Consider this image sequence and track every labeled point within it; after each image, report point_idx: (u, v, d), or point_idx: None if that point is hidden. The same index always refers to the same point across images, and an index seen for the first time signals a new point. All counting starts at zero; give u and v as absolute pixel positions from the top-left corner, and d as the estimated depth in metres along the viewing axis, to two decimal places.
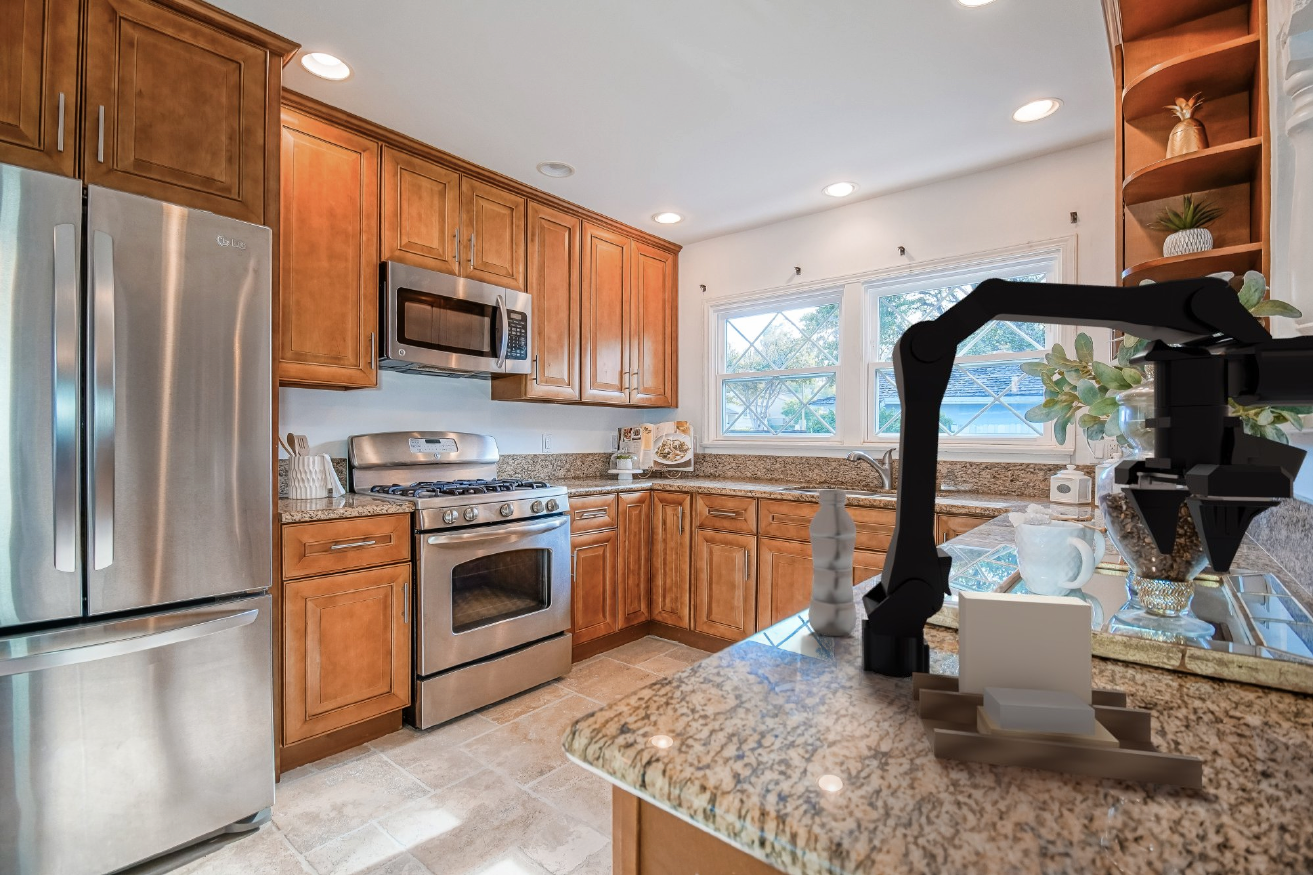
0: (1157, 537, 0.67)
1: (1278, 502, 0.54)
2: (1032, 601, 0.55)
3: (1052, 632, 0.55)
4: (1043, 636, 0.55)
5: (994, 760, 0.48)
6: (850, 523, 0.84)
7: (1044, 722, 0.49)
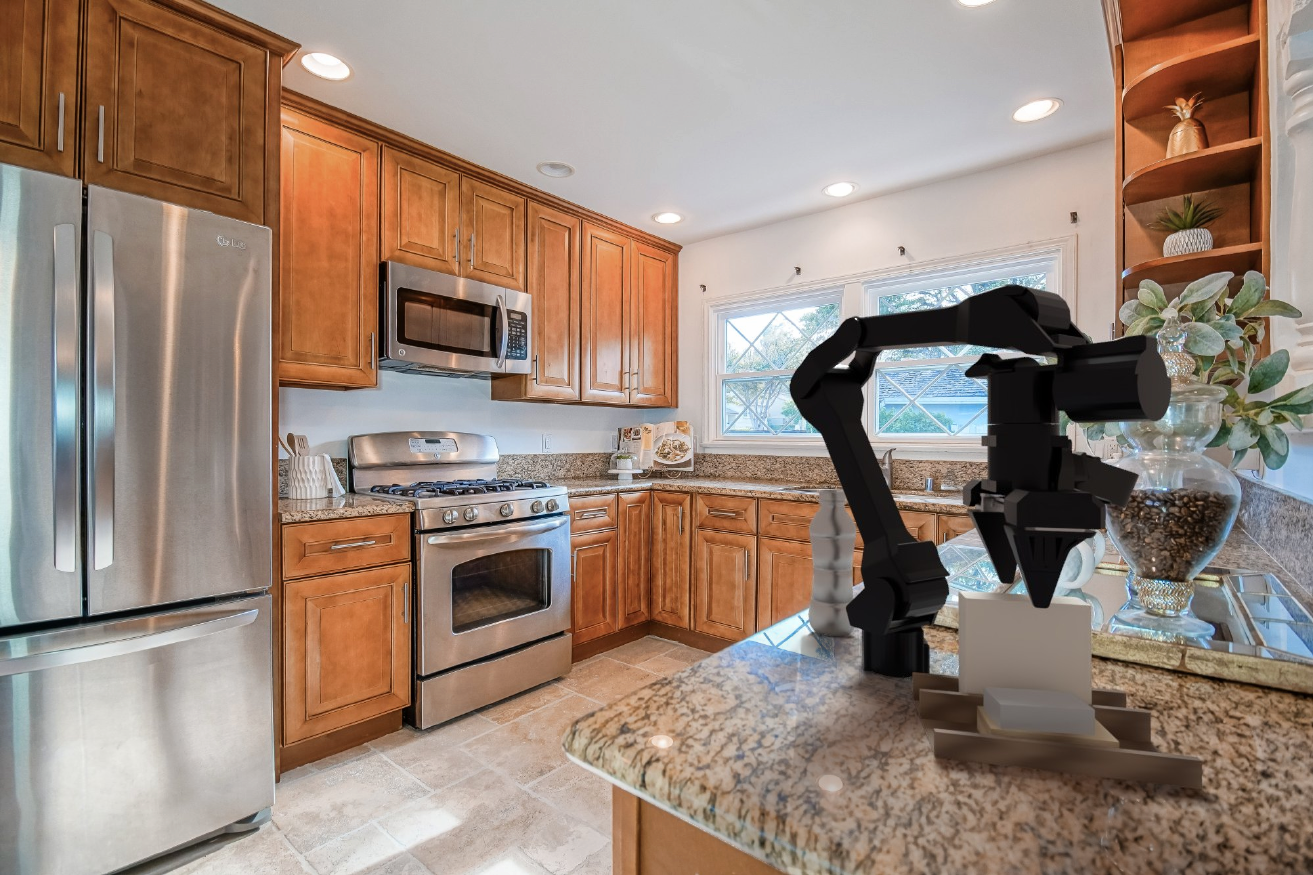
0: (998, 564, 0.61)
1: (1092, 533, 0.48)
2: None
3: (1052, 632, 0.55)
4: (1043, 636, 0.55)
5: (994, 760, 0.48)
6: (850, 523, 0.84)
7: (1044, 722, 0.49)
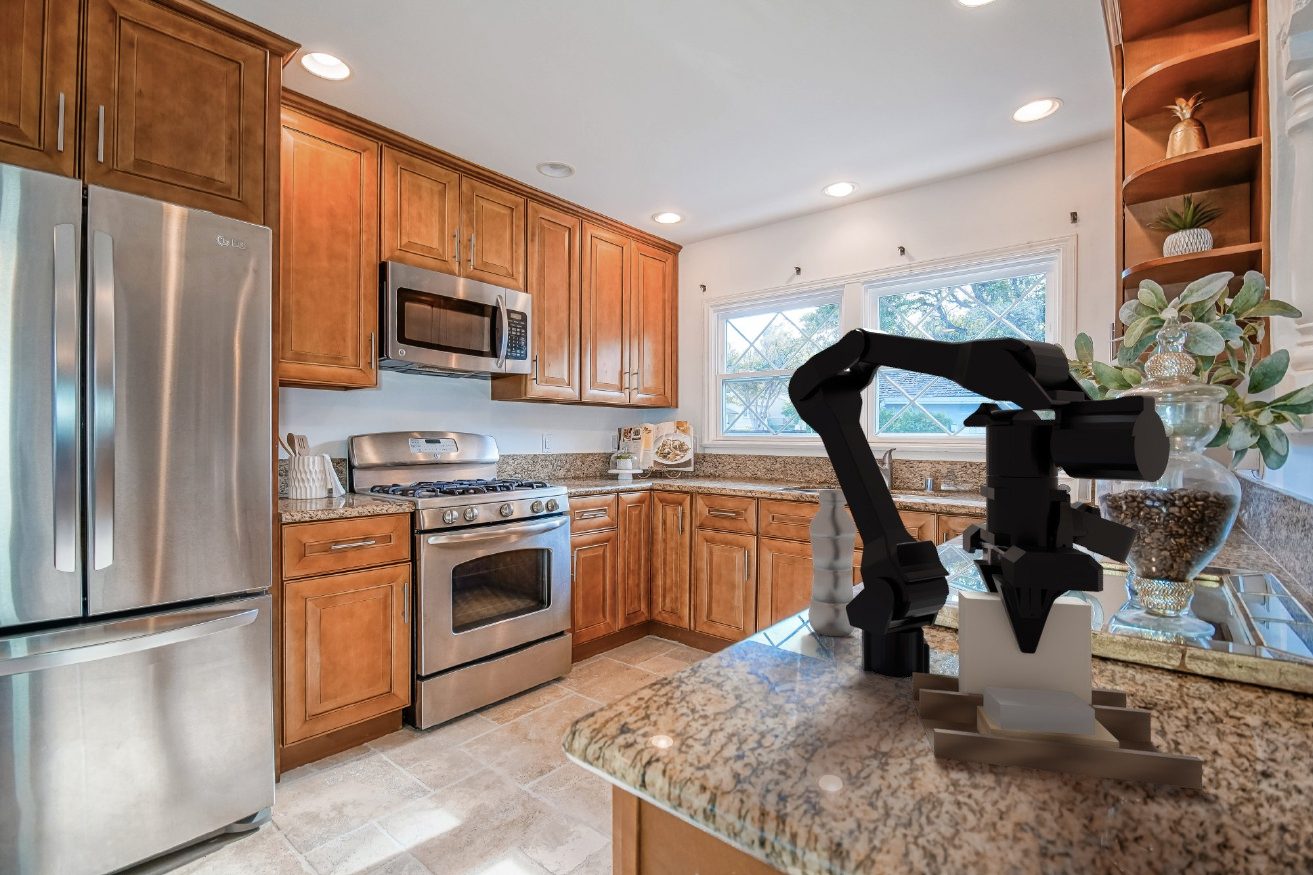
0: None
1: None
2: None
3: (1052, 632, 0.55)
4: (1043, 636, 0.55)
5: (994, 760, 0.48)
6: (850, 523, 0.84)
7: (1044, 722, 0.49)
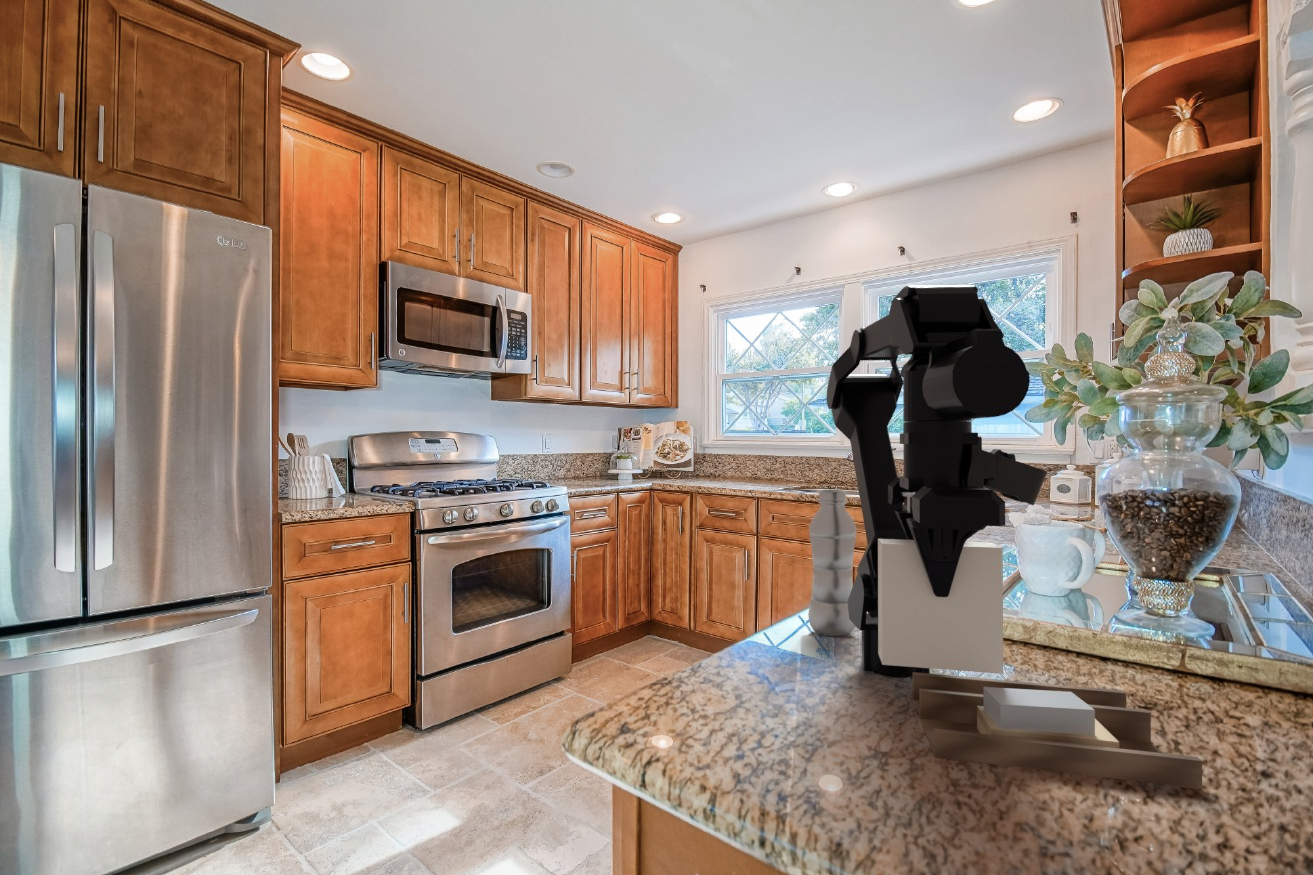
0: None
1: (982, 525, 0.51)
2: None
3: (965, 575, 0.55)
4: (957, 579, 0.55)
5: (994, 760, 0.48)
6: (850, 523, 0.84)
7: (1044, 722, 0.49)
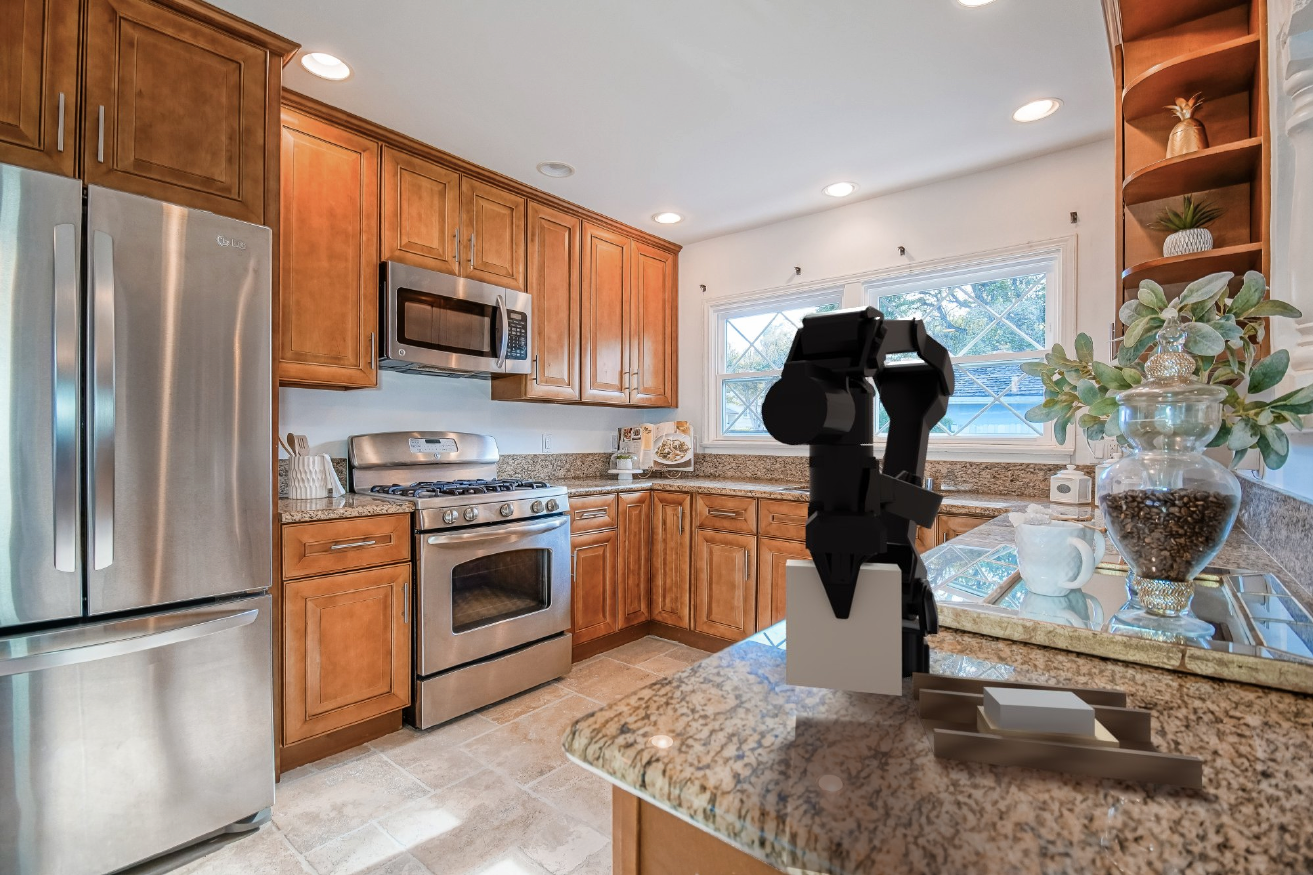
0: None
1: None
2: None
3: (866, 598, 0.55)
4: (857, 601, 0.55)
5: (994, 760, 0.48)
6: None
7: (1044, 722, 0.49)
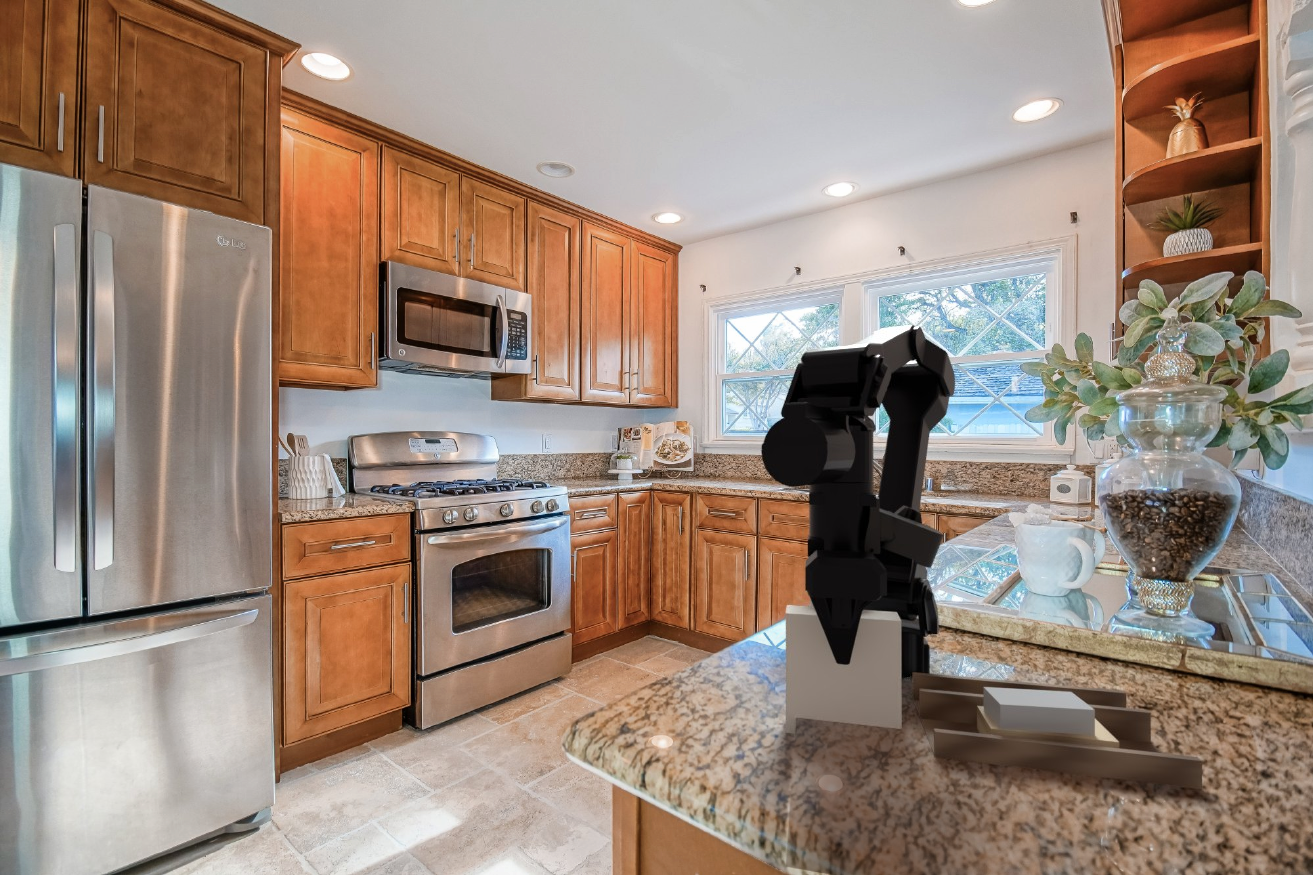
0: None
1: (876, 596, 0.50)
2: None
3: (865, 647, 0.55)
4: (857, 651, 0.55)
5: (994, 760, 0.48)
6: None
7: (1044, 722, 0.49)
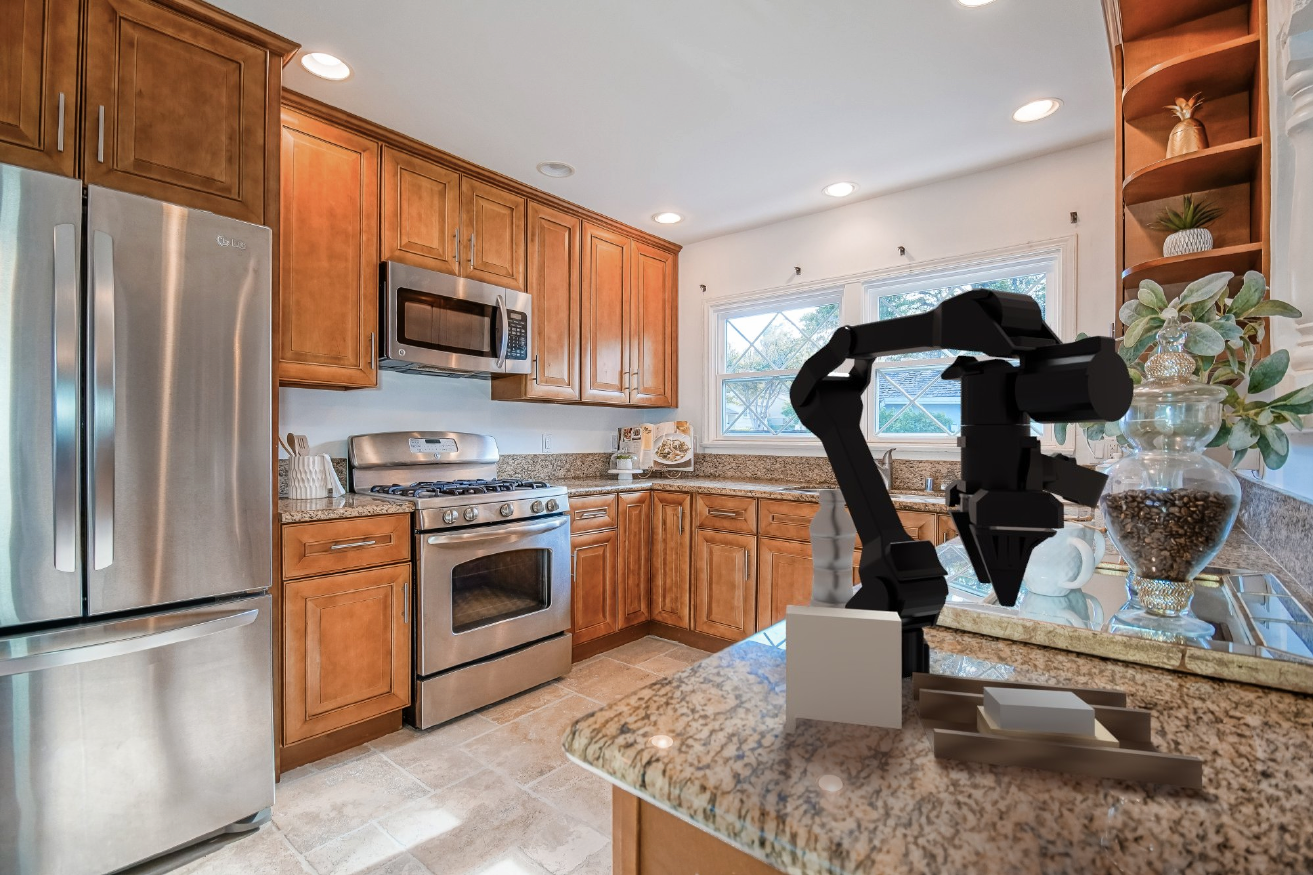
0: (976, 564, 0.62)
1: (1052, 532, 0.49)
2: (848, 616, 0.56)
3: (866, 647, 0.55)
4: (857, 651, 0.55)
5: (994, 760, 0.48)
6: (850, 523, 0.84)
7: (1044, 722, 0.49)
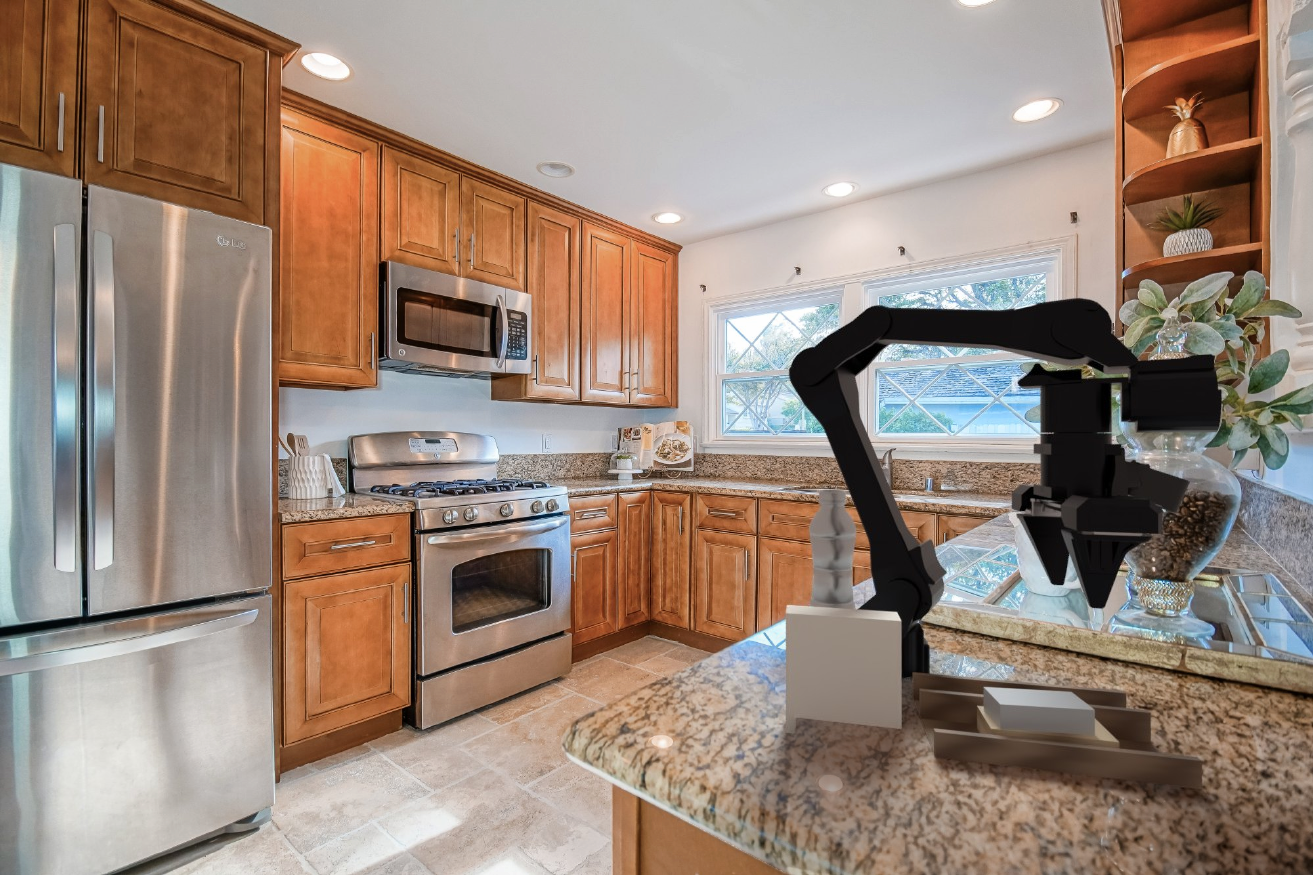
0: (1048, 567, 0.64)
1: (1149, 537, 0.51)
2: (848, 616, 0.56)
3: (866, 647, 0.55)
4: (857, 651, 0.55)
5: (994, 760, 0.48)
6: (850, 523, 0.84)
7: (1044, 722, 0.49)
